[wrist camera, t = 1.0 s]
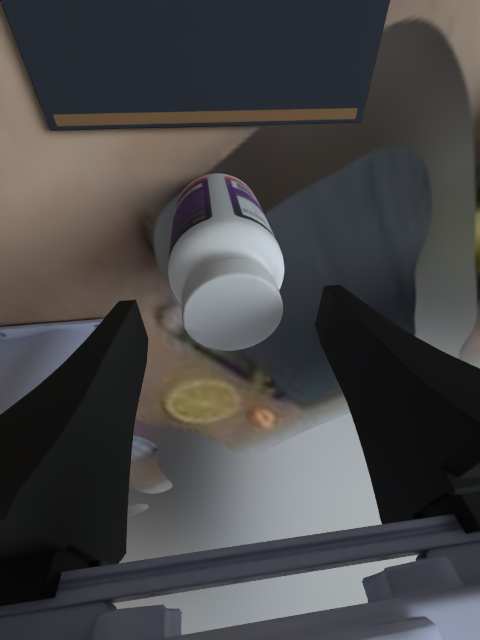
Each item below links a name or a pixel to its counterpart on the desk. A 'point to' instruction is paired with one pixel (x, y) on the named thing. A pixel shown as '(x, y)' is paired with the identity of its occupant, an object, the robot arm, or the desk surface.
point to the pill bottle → (225, 264)
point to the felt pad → (198, 60)
